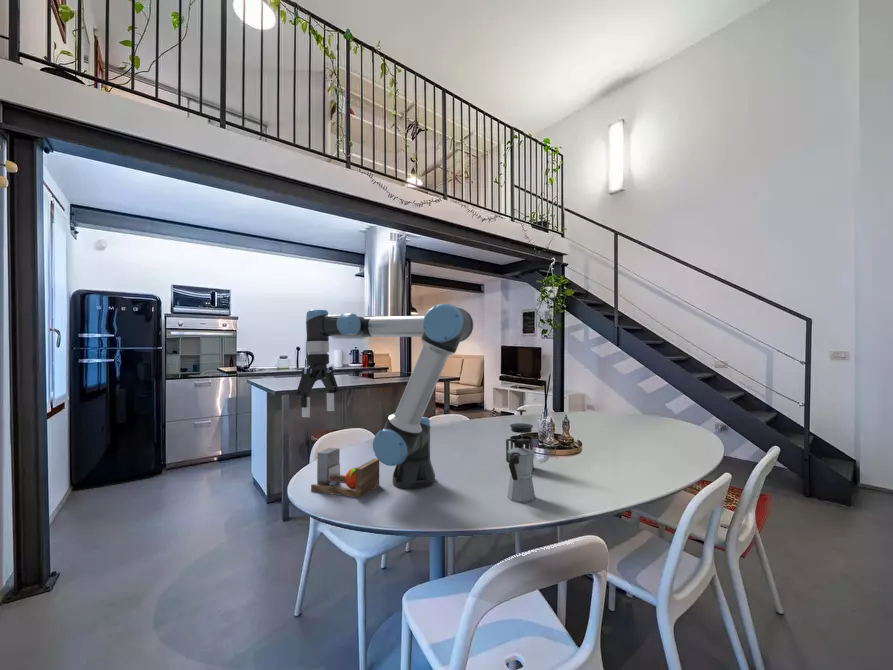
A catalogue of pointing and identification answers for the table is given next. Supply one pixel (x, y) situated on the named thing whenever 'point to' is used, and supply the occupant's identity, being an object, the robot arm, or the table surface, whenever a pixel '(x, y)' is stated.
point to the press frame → (356, 481)
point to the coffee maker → (521, 474)
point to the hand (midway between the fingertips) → (318, 414)
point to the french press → (520, 429)
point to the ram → (328, 467)
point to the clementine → (351, 478)
